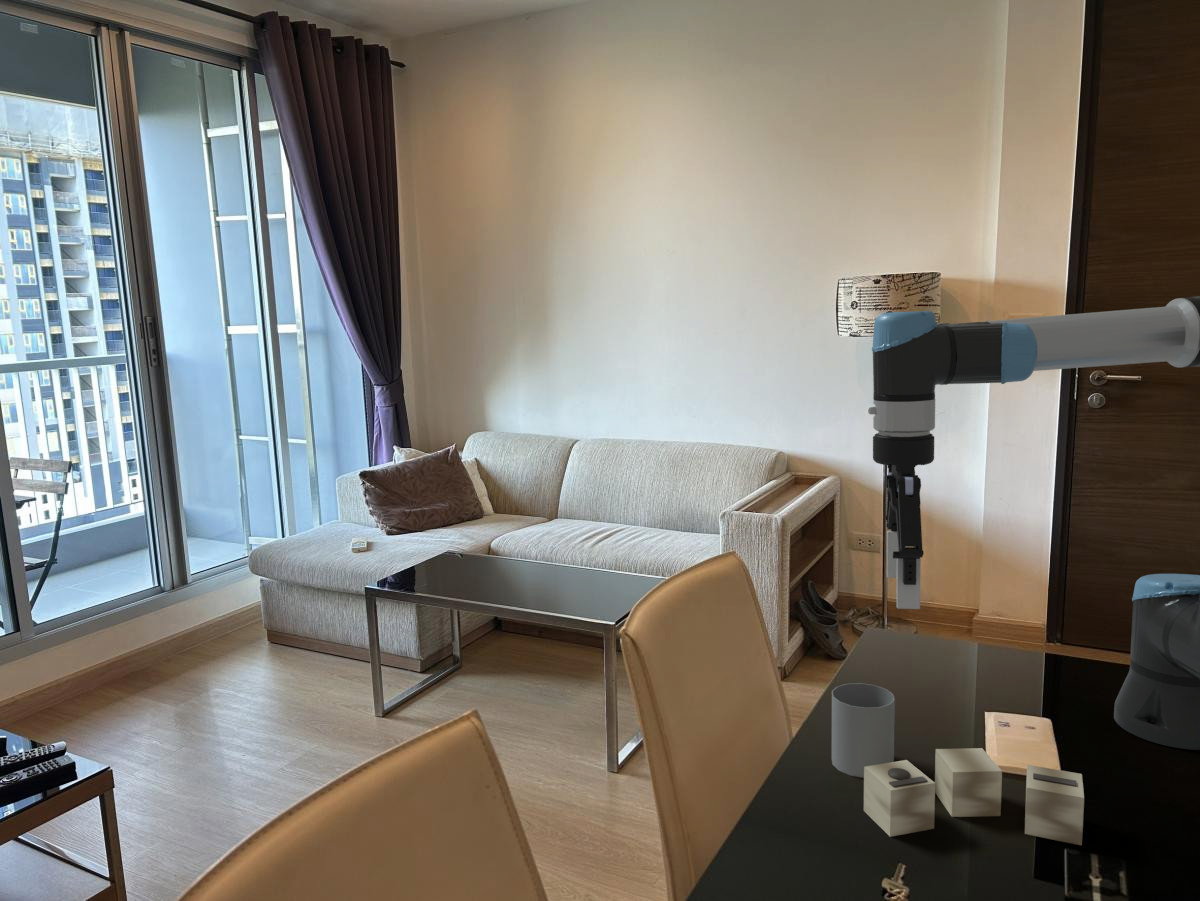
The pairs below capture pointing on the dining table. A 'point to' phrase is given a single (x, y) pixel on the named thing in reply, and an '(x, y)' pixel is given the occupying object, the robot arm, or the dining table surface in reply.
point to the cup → (862, 727)
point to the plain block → (968, 782)
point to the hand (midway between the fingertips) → (902, 592)
